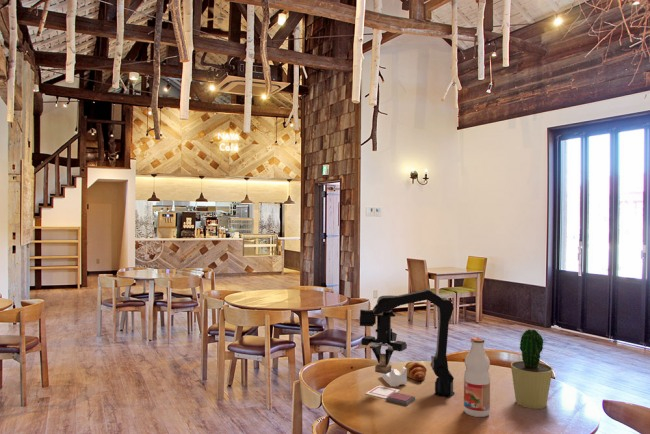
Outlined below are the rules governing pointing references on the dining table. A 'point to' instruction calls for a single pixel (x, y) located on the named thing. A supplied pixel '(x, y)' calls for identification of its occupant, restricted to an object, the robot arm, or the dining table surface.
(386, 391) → the paper card
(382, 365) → the stamp
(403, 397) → the ink pad
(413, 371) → the croissant
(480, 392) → the fruit juice
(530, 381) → the potted cactus
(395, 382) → the bracket
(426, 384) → the dining table surface
